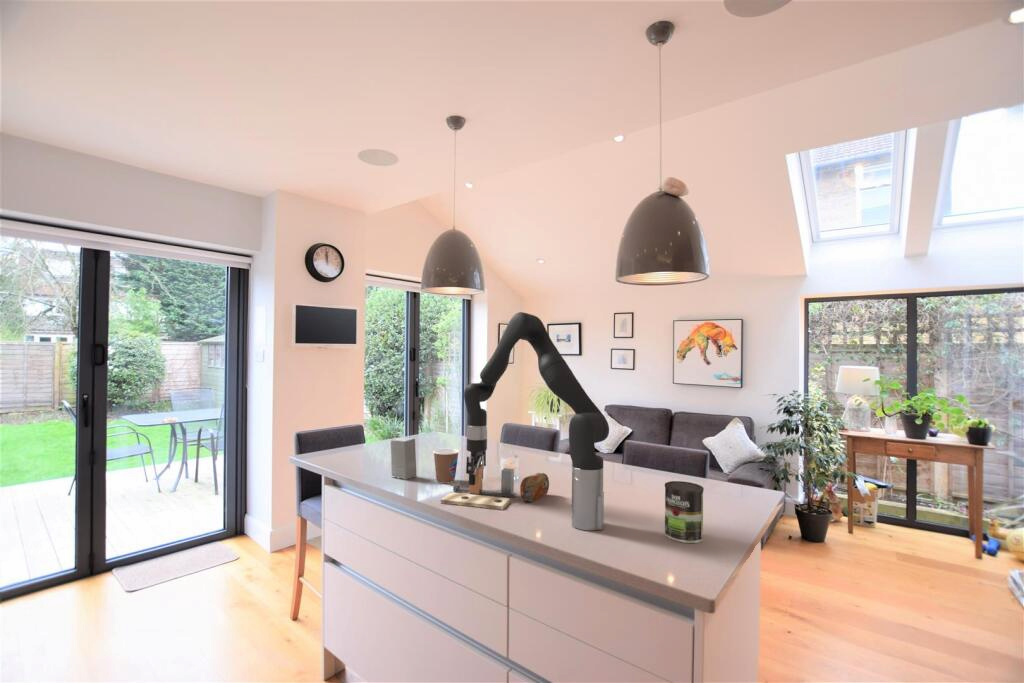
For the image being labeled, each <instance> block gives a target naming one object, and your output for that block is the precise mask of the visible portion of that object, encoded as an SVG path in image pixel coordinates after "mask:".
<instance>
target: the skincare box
mask: <svg viewBox="0 0 1024 683" xmlns="http://www.w3.org/2000/svg"><path fill="white" fill-rule="evenodd" d="M416 451H417V450H416V438H413V437H412V438H411V437H410V438H408V437H397V438H394V439H391V440H390V459H391V460H390V464H391V465H390V466H391V477H392V476H394V477H399V478H403V479H402V480H405V479H406V480H408V478H409V479H413V478H416V477H417V459H416V458H417V457H416V456H417V455H416ZM415 476H416V477H415ZM412 477H413V478H412ZM399 478H398V479H399Z"/></svg>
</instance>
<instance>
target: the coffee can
mask: <svg viewBox="0 0 1024 683" xmlns="http://www.w3.org/2000/svg"><path fill="white" fill-rule="evenodd" d="M704 489H705V488H704V486H703V485H700V484H698V483H693V482H689V481H682V480H680V481H679V480H672V481H667V482H665V483H664V491H665V492H664V495H665V496H664V500H665V501H664V508H665V509H664V536H665V537H667V538H668V539H670V540H672V541H673V542H678V543H683V544H699V543H701V542H703V541H704Z"/></svg>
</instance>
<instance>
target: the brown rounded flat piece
mask: <svg viewBox="0 0 1024 683" xmlns="http://www.w3.org/2000/svg"><path fill="white" fill-rule="evenodd" d="M519 489H520V491H519V494H520V497H521V499H522V500H523V501H524V502H528V503H534V502H536V501H538V500H540V499H543V498H545V496H546V495H548V493H549V489H550V480H549V477H548V475H547V474H546V473H544V472H543V473H542V472H537V473H535V474H532V475H528V476H526V477H524V478H523V479H522V481H521V482H520V487H519ZM542 497H543V498H542ZM535 500H536V501H535Z"/></svg>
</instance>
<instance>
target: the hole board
mask: <svg viewBox="0 0 1024 683" xmlns="http://www.w3.org/2000/svg"><path fill="white" fill-rule="evenodd" d="M440 502H441V503H440V504H443V503H449V504H448V505H452V504H458V505H457V506H462V505H465V506H464V507H471V506H474V507H473V508H480V507H483V509H489V508H491V509H492V510H498V509H501V510H502V511H503V510H504V509H505V508H506V507H507V506H508V505H509V504H510V503H511V498H508V497H501V496H492V495H482V494H472V493H463V492H450V493H448V494H447V495H445V496H443V497H442V498H441V499H440ZM491 509H490V510H491Z"/></svg>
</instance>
